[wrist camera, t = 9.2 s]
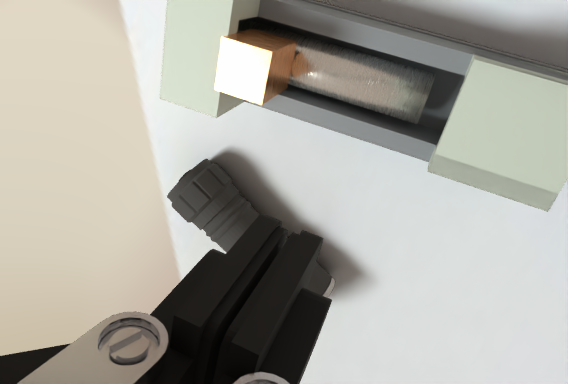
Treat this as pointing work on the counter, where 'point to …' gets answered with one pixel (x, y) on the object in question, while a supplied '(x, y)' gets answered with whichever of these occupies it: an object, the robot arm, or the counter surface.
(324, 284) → the flashlight
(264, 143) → the counter surface
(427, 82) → the hammer
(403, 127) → the toy lathe
